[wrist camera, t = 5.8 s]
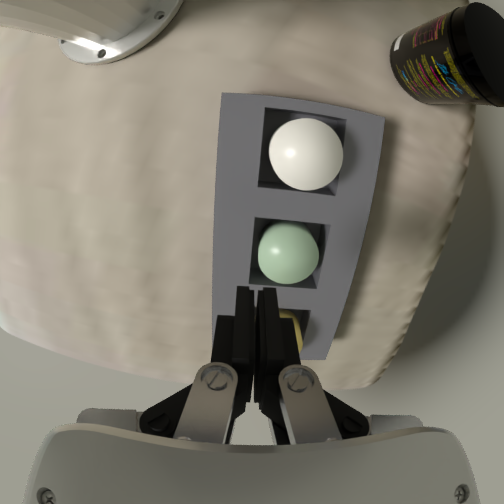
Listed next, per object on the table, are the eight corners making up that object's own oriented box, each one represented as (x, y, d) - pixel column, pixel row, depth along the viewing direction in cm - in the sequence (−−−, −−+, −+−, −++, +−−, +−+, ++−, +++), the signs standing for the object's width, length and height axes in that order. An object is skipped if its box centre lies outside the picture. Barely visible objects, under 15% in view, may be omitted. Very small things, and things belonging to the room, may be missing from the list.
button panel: (226, 97, 18) (221, 92, 15) (369, 118, 18) (385, 117, 15) (216, 333, 27) (212, 353, 25) (320, 339, 28) (325, 359, 25)
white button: (271, 115, 16) (273, 113, 14) (336, 125, 16) (347, 125, 14) (265, 178, 18) (266, 186, 16) (327, 186, 18) (337, 194, 16)
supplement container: (435, 119, 17) (523, 131, 8) (375, 75, 16) (455, 51, 7) (454, 65, 15) (534, 58, 5) (397, 21, 14) (468, -17, 4)
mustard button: (252, 306, 23) (251, 325, 21) (303, 309, 23) (307, 328, 21) (248, 342, 25) (247, 362, 22) (294, 345, 25) (297, 364, 23)
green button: (261, 215, 21) (261, 226, 19) (317, 220, 21) (324, 232, 19) (255, 265, 23) (255, 281, 20) (307, 269, 23) (312, 285, 21)
